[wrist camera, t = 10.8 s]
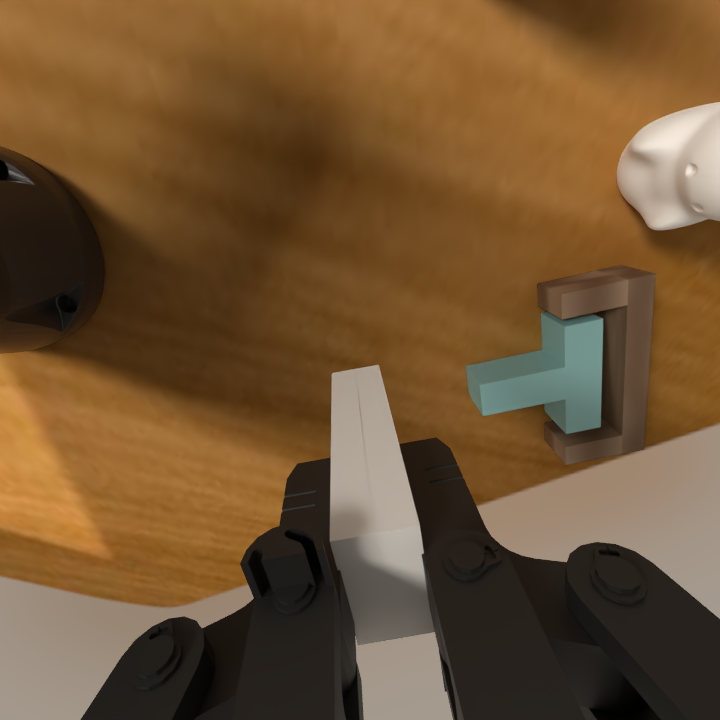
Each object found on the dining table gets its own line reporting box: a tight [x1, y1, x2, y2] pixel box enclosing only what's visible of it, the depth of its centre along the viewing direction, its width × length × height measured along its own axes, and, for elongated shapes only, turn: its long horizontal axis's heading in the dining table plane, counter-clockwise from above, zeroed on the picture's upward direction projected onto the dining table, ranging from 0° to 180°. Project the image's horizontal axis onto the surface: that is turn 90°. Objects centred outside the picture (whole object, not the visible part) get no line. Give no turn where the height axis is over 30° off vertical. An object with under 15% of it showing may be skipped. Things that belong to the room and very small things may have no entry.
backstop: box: [537, 265, 656, 465], centre depth 35 cm, size 7×16×4 cm, turn 12°
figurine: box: [617, 102, 720, 230], centre depth 25 cm, size 7×8×12 cm
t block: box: [466, 312, 603, 434], centre depth 35 cm, size 10×10×4 cm
